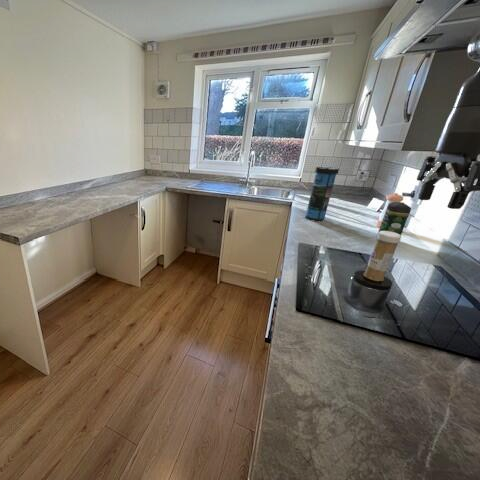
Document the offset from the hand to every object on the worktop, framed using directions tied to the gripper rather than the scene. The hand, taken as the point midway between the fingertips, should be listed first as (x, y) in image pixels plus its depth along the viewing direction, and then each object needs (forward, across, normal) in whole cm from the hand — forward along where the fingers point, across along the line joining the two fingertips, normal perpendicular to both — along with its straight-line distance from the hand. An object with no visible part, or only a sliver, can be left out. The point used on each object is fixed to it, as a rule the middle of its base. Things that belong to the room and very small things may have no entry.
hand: (437, 203), depth 62 cm
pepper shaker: (+33, +83, -46) cm, 101 cm away
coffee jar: (+33, +62, -35) cm, 79 cm away
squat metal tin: (+32, +1, +8) cm, 33 cm away
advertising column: (+32, +92, -13) cm, 99 cm away
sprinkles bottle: (+22, +1, +7) cm, 23 cm away
